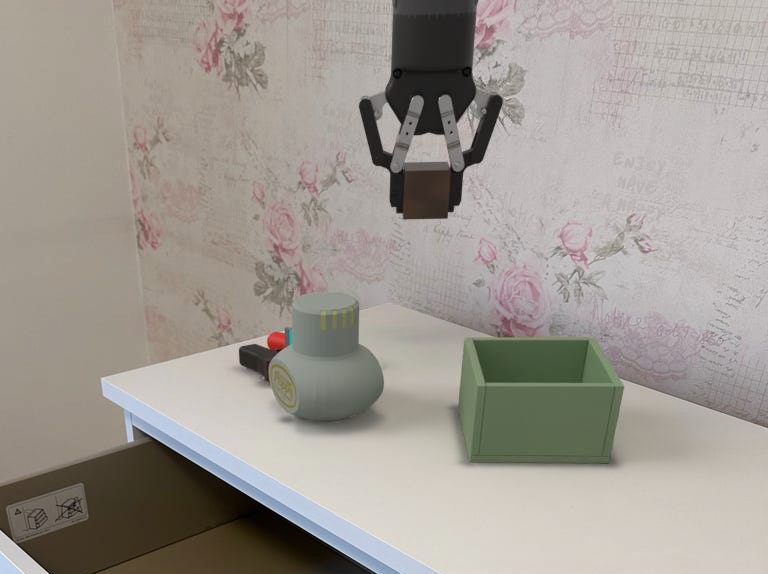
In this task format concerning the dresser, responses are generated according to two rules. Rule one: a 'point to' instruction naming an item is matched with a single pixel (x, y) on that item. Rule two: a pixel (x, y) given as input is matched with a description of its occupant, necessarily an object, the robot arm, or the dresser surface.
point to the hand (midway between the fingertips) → (424, 210)
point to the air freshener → (325, 361)
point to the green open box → (538, 400)
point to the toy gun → (264, 352)
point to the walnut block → (426, 190)
